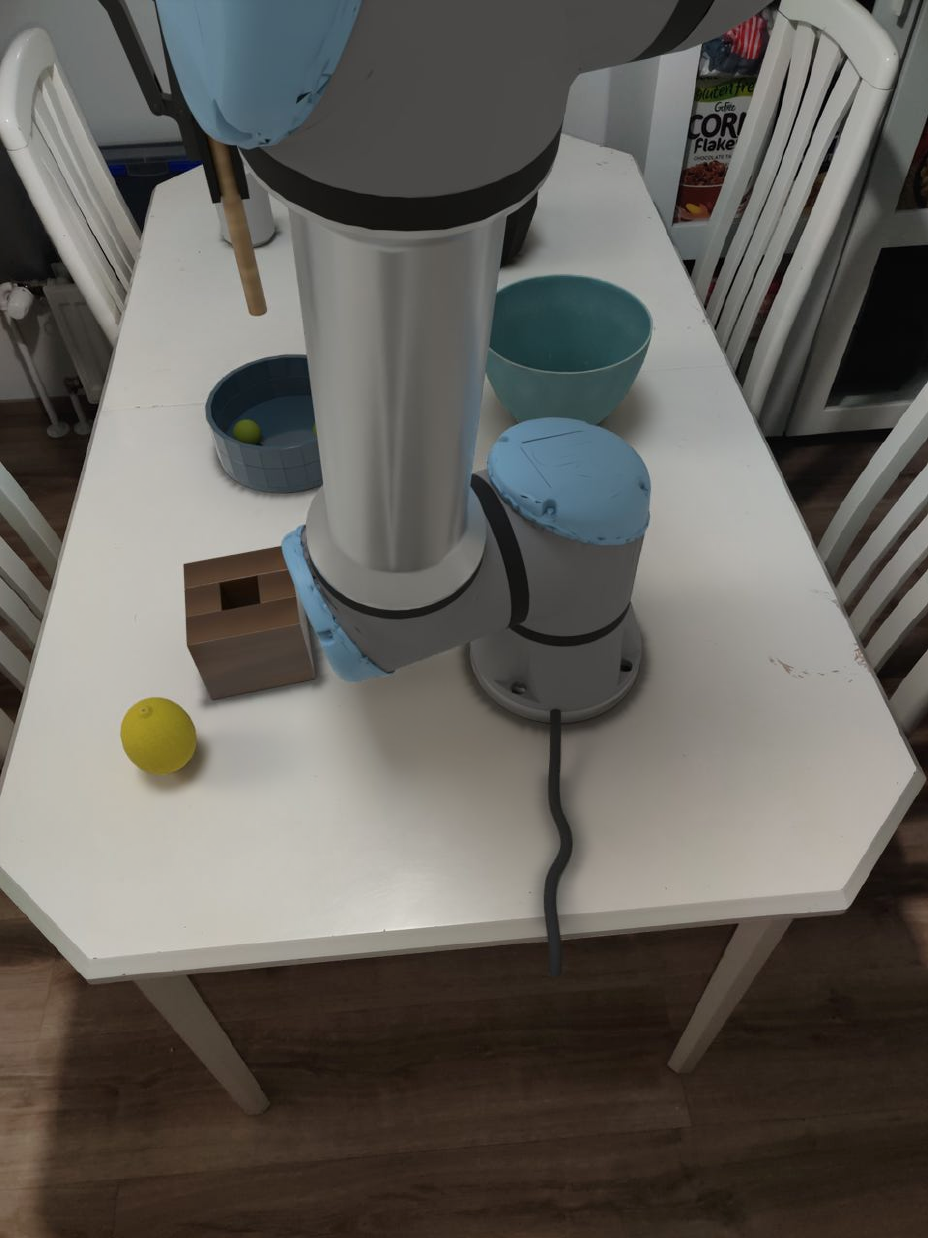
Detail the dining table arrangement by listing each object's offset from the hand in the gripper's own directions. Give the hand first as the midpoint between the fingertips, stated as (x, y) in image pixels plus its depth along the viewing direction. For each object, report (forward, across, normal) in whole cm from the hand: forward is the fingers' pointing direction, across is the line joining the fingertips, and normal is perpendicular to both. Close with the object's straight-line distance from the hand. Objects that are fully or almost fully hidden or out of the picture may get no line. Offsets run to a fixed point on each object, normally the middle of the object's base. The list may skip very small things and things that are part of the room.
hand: (230, 193), depth 76 cm
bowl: (+28, 0, 0) cm, 28 cm away
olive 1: (+25, +4, 0) cm, 26 cm away
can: (+27, +1, -47) cm, 54 cm away
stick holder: (+28, +6, +28) cm, 40 cm away
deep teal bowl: (+28, -30, +3) cm, 41 cm away
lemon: (+28, +14, +38) cm, 49 cm away
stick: (+11, 0, 0) cm, 11 cm away
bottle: (+28, -30, -35) cm, 54 cm away
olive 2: (+25, -4, +2) cm, 26 cm away
